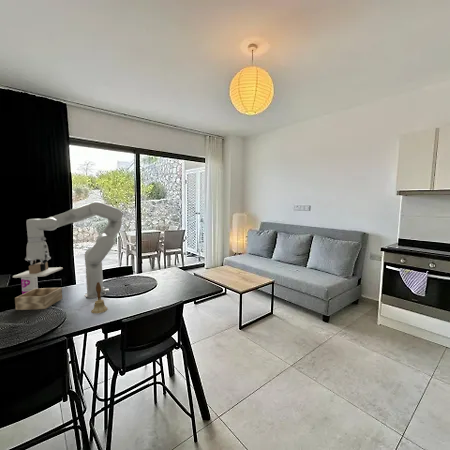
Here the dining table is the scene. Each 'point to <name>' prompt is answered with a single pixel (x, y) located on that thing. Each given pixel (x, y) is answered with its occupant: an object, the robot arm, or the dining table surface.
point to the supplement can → (29, 284)
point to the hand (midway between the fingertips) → (39, 270)
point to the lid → (37, 271)
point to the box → (38, 298)
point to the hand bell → (99, 302)
